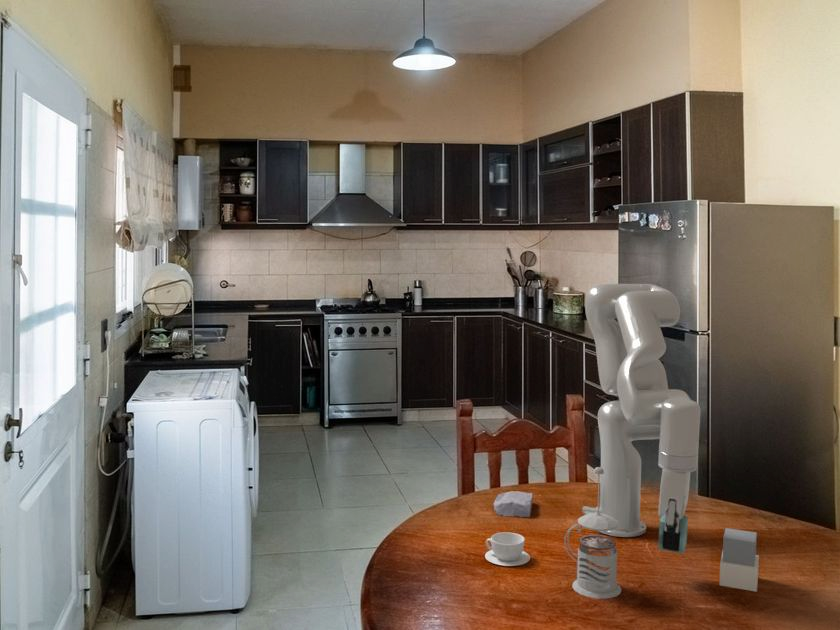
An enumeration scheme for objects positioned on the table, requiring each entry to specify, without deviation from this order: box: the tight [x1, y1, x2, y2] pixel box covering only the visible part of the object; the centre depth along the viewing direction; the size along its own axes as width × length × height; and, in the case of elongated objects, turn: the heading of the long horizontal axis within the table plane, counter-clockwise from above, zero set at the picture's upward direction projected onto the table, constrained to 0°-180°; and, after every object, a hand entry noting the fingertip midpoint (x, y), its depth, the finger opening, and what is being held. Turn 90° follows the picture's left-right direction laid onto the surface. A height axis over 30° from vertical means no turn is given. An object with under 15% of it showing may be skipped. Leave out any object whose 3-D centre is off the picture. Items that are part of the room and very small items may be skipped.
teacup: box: [484, 531, 531, 567], centre depth 172 cm, size 10×10×5 cm
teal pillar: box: [657, 512, 689, 555], centre depth 160 cm, size 5×5×6 cm
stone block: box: [493, 490, 534, 518], centre depth 204 cm, size 12×5×10 cm
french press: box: [564, 466, 622, 600], centre depth 157 cm, size 10×12×25 cm
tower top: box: [722, 527, 758, 567], centre depth 160 cm, size 6×6×5 cm
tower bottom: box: [719, 551, 760, 592], centre depth 160 cm, size 7×7×5 cm
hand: (672, 542), depth 161 cm, fingers closed on teal pillar, 4 cm apart
